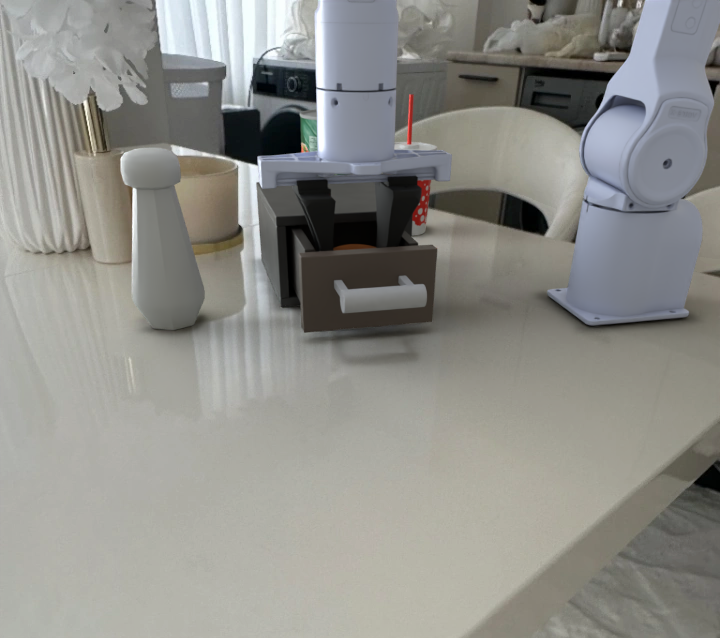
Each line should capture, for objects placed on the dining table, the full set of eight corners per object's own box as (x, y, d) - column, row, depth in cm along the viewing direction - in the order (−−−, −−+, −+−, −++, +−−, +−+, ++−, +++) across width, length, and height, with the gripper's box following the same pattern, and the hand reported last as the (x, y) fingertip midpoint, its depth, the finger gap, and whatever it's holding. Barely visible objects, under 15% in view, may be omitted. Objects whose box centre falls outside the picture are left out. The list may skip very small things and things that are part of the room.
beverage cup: (369, 232, 82) (371, 94, 74) (395, 221, 86) (400, 90, 79) (416, 240, 79) (423, 98, 72) (440, 228, 84) (450, 93, 76)
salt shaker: (191, 337, 56) (167, 158, 49) (124, 331, 57) (91, 155, 50) (218, 311, 61) (200, 145, 54) (155, 305, 62) (129, 142, 55)
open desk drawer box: (409, 297, 64) (413, 209, 60) (280, 307, 62) (275, 216, 57) (371, 254, 75) (372, 177, 71) (261, 261, 73) (256, 181, 68)
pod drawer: (452, 344, 53) (458, 267, 50) (315, 357, 51) (312, 277, 48) (390, 273, 67) (392, 209, 64) (280, 281, 65) (276, 215, 62)
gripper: (261, 95, 46) (273, 300, 54) (472, 92, 49) (455, 286, 56) (249, 85, 52) (262, 271, 59) (439, 82, 55) (428, 260, 62)
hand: (355, 277), depth 58 cm, fingers closed on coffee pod, 4 cm apart
